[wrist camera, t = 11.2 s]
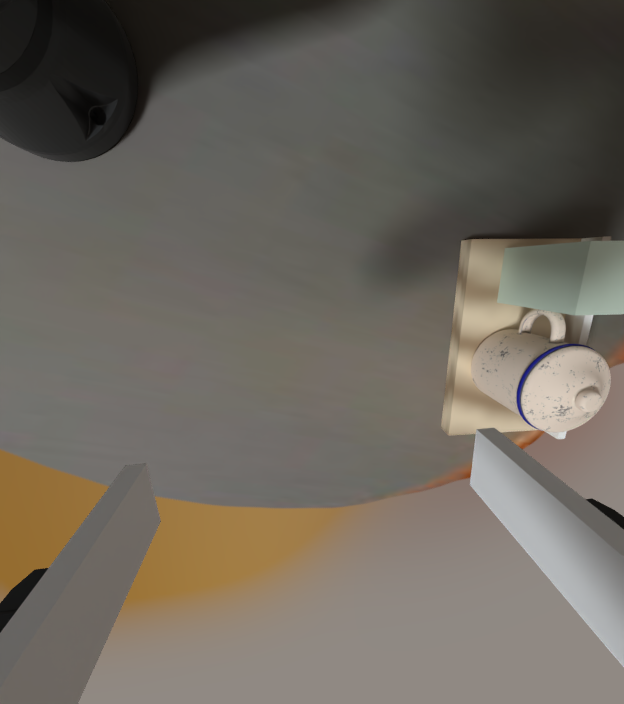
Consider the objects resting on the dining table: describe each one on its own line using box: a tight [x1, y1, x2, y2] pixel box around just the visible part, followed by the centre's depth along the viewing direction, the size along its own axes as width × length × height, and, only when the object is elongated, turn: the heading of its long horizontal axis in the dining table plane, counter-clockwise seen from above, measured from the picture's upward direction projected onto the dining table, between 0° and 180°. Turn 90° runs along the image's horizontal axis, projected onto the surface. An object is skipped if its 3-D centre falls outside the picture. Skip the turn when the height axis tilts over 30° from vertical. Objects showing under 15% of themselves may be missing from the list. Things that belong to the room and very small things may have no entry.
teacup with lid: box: [471, 309, 611, 432], centre depth 32 cm, size 12×9×12 cm
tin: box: [497, 241, 624, 315], centre depth 31 cm, size 6×6×10 cm
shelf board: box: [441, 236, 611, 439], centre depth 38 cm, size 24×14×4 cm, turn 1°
